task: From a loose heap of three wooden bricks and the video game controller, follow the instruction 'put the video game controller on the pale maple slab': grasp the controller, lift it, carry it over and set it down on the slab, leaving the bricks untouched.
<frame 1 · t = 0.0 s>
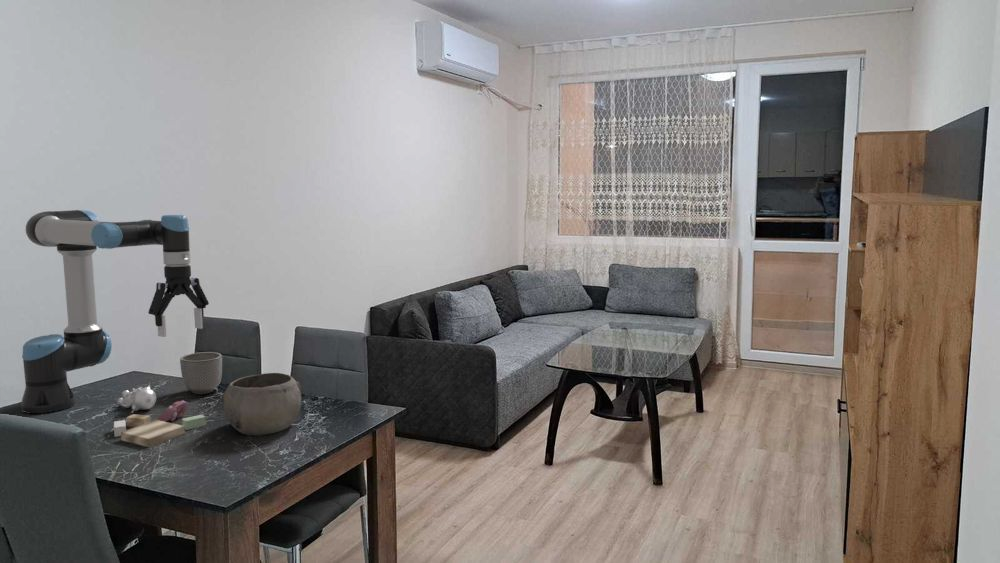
hand: (181, 332, 222), 28 cm above the table, fingers open, 13 cm apart
maple slab: (153, 437, 209), on the table
brick white: (120, 433, 213), on the table
bowl: (264, 427, 219), on the table
figurine: (138, 408, 236), on the table
brick beech: (139, 425, 219), on the table
planter: (203, 392, 254), on the table
brick sage: (194, 427, 218), on the table
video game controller: (174, 419, 225), on the table
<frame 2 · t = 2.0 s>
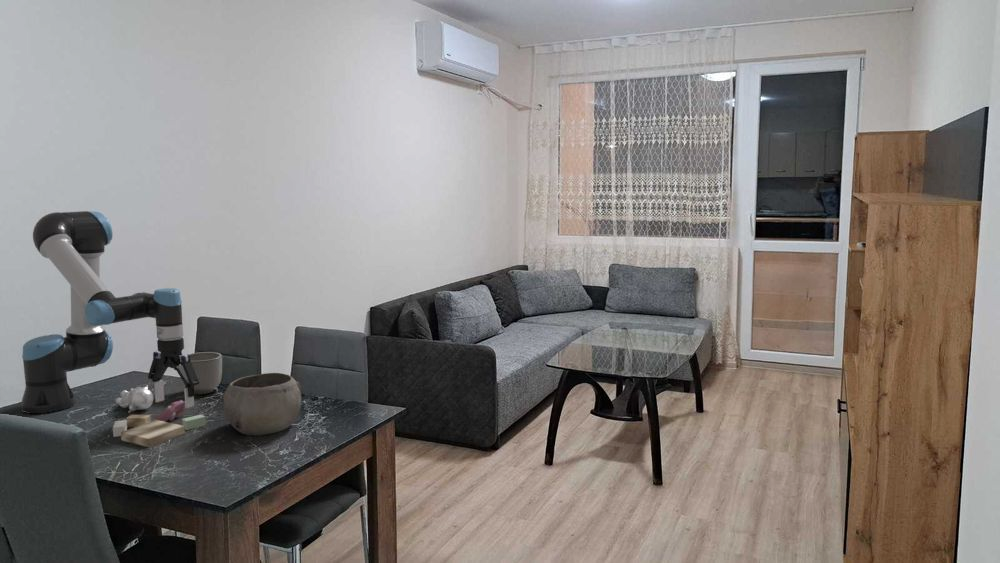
hand: (174, 403, 224), 5 cm above the table, fingers open, 13 cm apart
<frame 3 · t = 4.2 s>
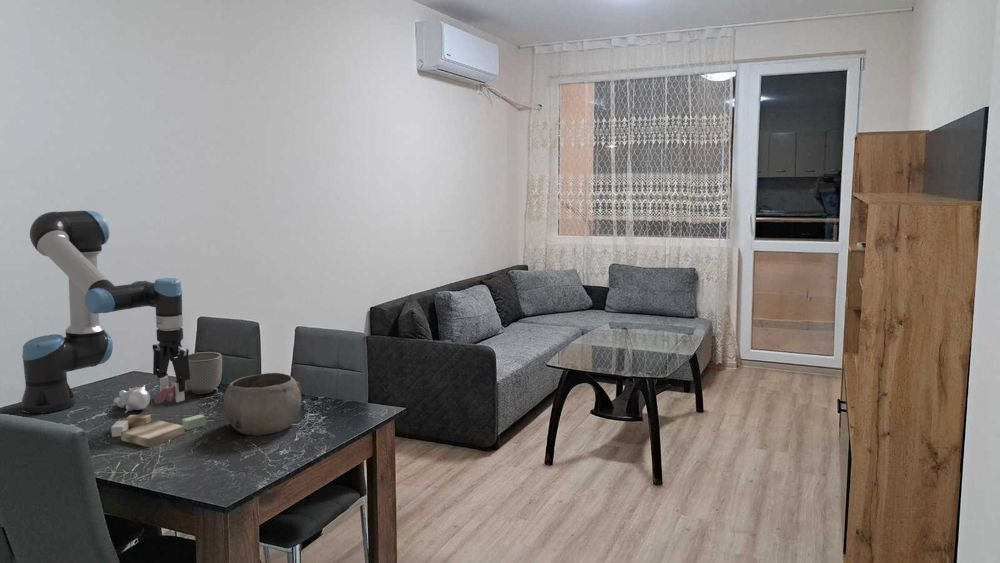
hand: (172, 398, 224), 6 cm above the table, fingers closed on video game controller, 6 cm apart
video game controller: (171, 400, 224), point 6 cm above the table, touching gripper
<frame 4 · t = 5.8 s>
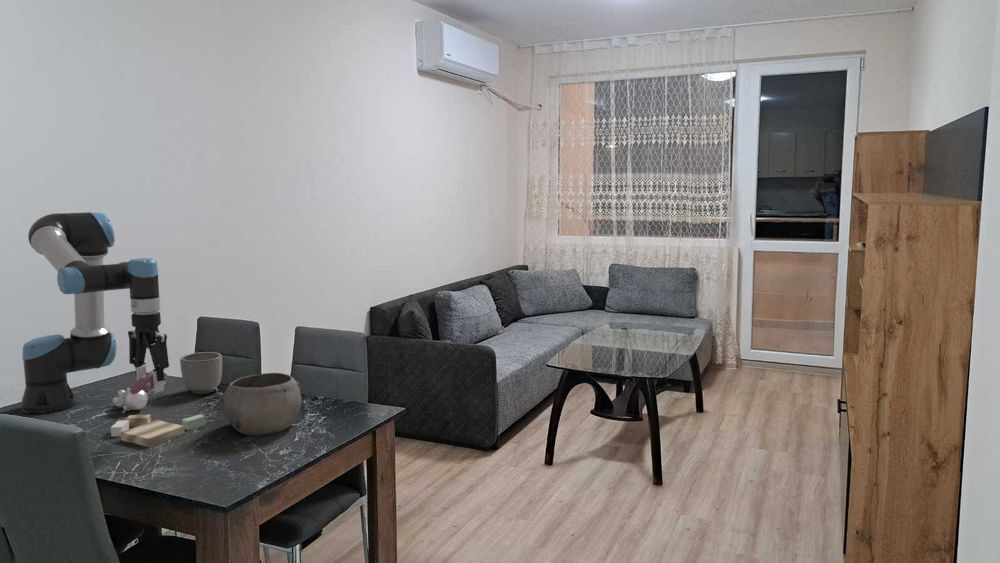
hand: (150, 389, 207), 14 cm above the table, fingers closed on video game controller, 6 cm apart
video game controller: (150, 391, 207), point 14 cm above the table, touching gripper
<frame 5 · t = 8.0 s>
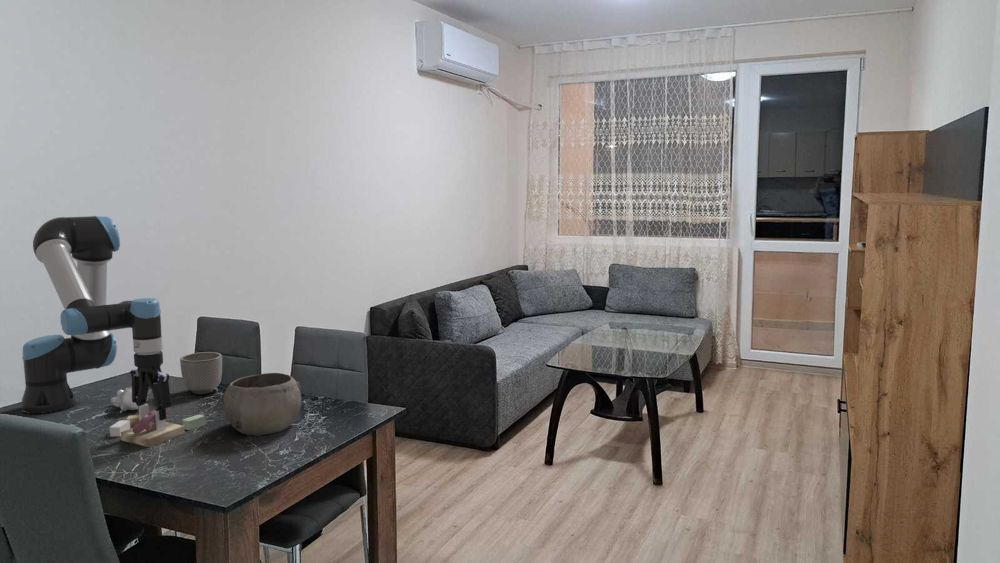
hand: (152, 428, 209), 3 cm above the table, fingers closed on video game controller, 6 cm apart
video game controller: (152, 430, 208), point 2 cm above the table, touching gripper, maple slab
when the fingers open (3 cm above the table, at t = 8.2 s): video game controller stays where it is, resting on maple slab.
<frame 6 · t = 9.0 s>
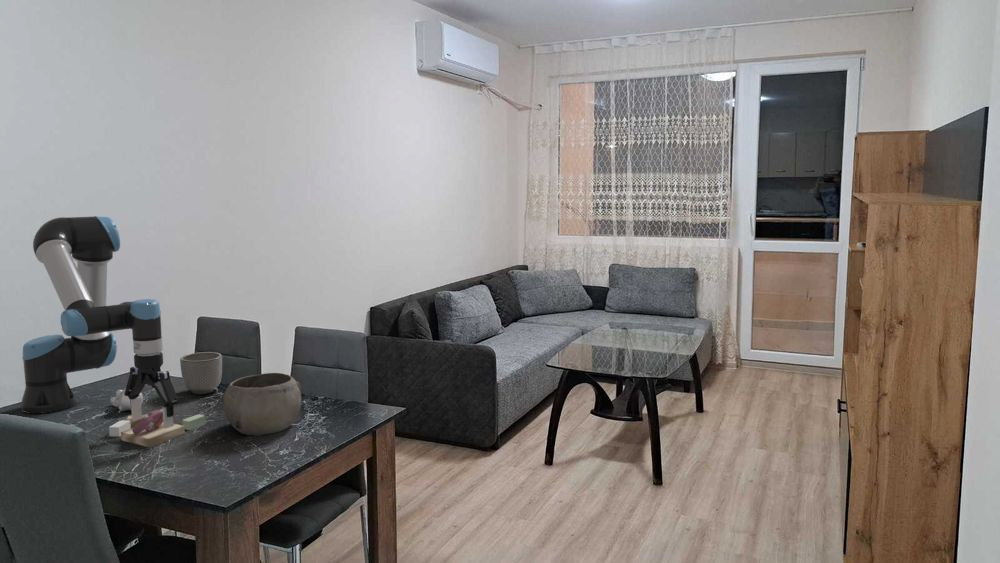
hand: (152, 423, 209), 4 cm above the table, fingers open, 13 cm apart
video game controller: (151, 430, 208), point 2 cm above the table, touching maple slab
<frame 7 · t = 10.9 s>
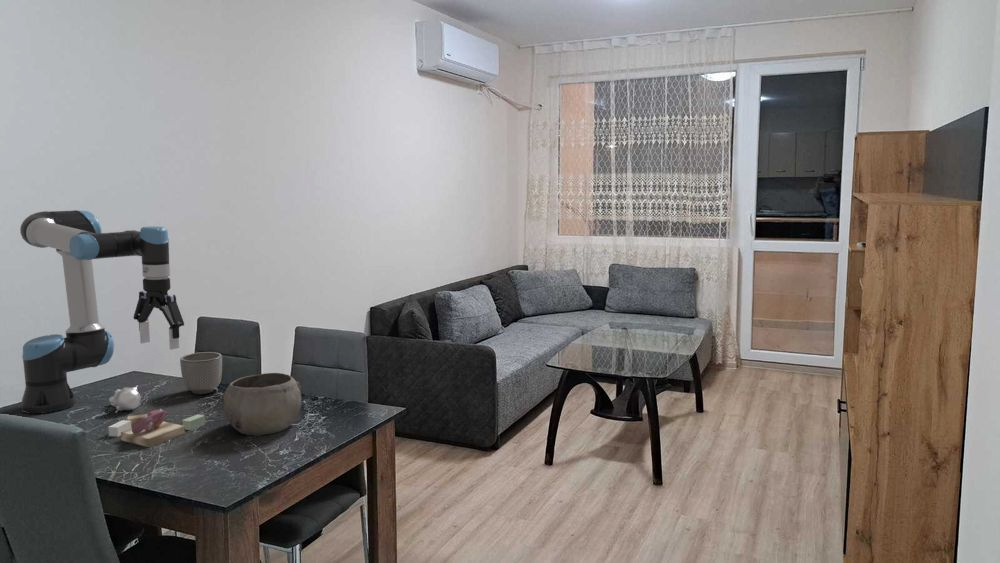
hand: (159, 345, 219), 25 cm above the table, fingers open, 13 cm apart
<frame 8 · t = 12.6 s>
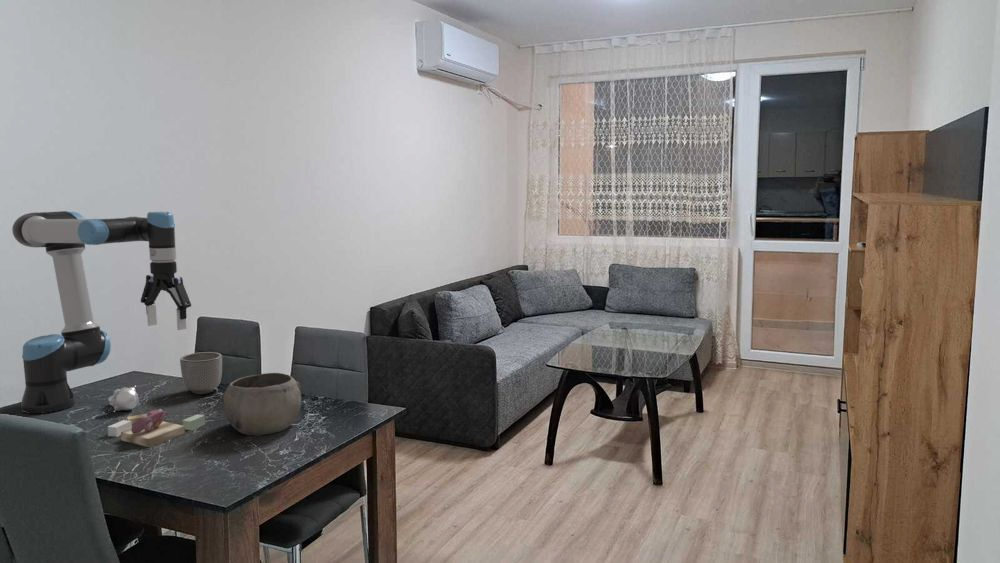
hand: (167, 327, 226), 29 cm above the table, fingers open, 13 cm apart
at the end: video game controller inside the target area on the maple slab (0.6 cm from its centre), point 2.3 cm above the maple slab's base; brick beech moved 0.2 cm from its start; brick white moved 0.2 cm from its start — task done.
